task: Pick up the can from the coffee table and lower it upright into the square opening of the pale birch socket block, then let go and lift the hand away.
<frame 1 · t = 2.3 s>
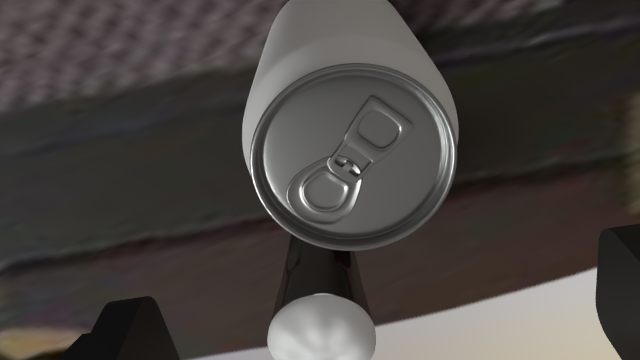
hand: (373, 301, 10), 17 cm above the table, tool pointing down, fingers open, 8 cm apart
milkshake: (314, 236, 30), on the table
can: (336, 50, 25), on the table
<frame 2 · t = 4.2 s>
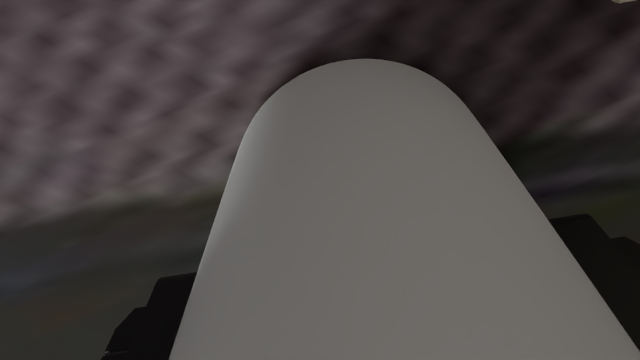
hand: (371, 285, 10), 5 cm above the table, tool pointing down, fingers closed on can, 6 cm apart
can: (359, 170, 15), on the table, touching gripper
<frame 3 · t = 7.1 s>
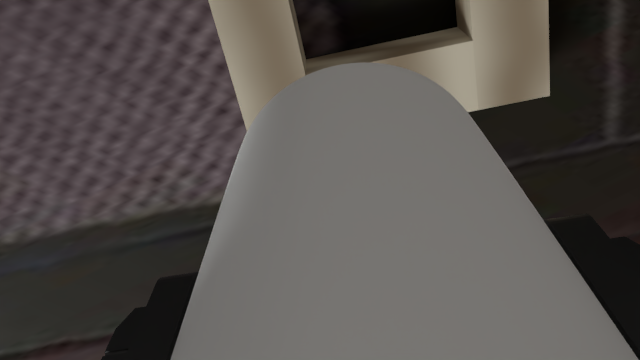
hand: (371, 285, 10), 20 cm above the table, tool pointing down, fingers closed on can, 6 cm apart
can: (358, 173, 15), point 15 cm above the table, touching gripper
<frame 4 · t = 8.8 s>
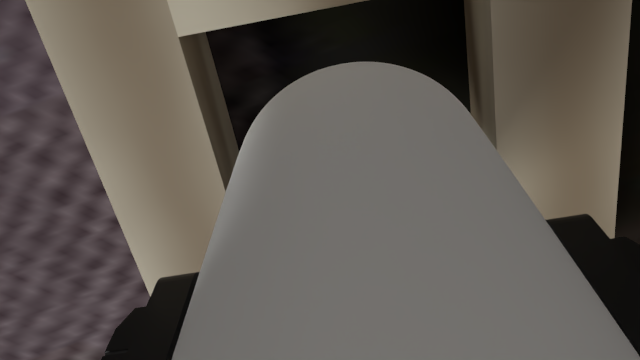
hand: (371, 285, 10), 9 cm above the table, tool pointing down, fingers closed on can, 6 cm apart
socket block: (349, 112, 18), on the table
can: (359, 172, 15), point 4 cm above the table, touching gripper
when the fingers open (6 cm above the table, at t = 9.9 s): can drops 1 cm, resting in socket block.
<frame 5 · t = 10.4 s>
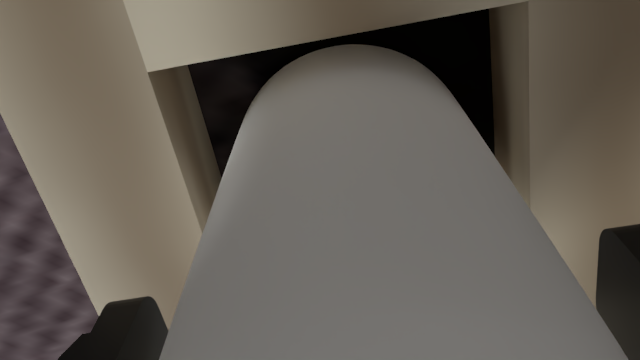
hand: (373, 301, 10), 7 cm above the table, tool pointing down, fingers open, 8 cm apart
socket block: (354, 150, 16), on the table
can: (350, 148, 16), resting in socket block
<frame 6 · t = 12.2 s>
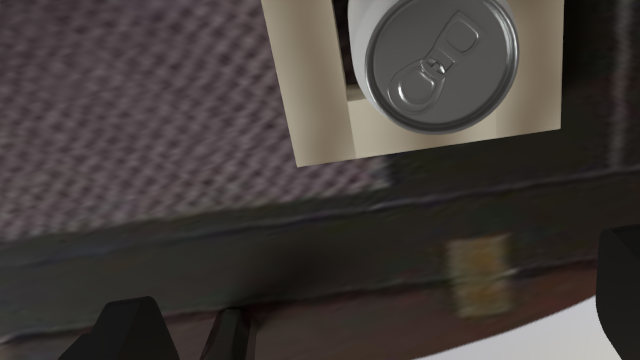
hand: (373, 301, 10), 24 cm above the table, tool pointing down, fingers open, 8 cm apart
milkshake: (232, 324, 42), on the table
socket block: (406, 5, 30), on the table
can: (404, 5, 31), resting in socket block
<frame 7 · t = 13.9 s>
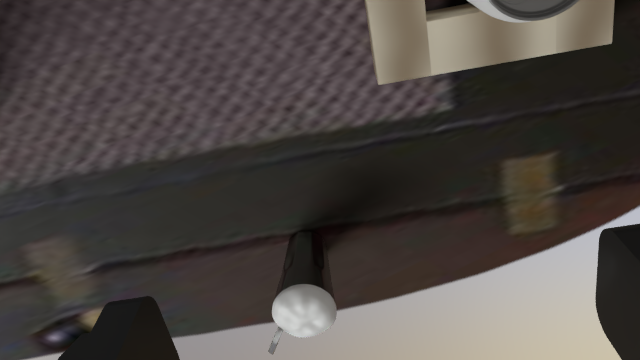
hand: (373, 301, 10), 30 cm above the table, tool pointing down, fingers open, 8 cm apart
milkshake: (303, 247, 46), on the table
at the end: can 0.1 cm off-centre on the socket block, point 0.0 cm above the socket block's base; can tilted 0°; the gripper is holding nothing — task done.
